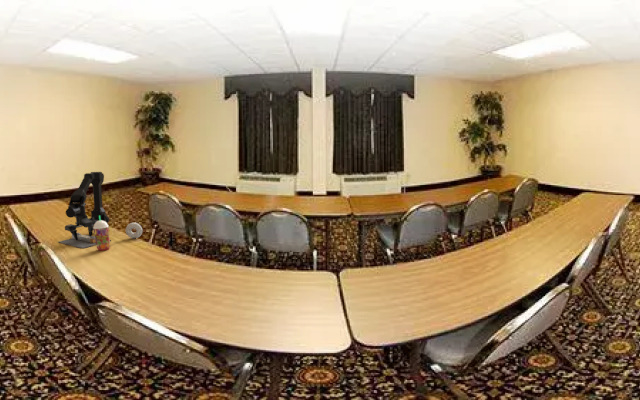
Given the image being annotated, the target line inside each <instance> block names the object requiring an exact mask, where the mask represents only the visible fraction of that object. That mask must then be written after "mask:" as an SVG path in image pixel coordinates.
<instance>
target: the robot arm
mask: <svg viewBox="0 0 640 400" xmlns="http://www.w3.org/2000/svg"><path fill="white" fill-rule="evenodd" d="M104 181H105V174H104V173H103V172H102V171H91V172H90V173H89V172H87V173H84V174H83V179H82V181H81V182H80V184H79V186H78V189H76V190H75V191H73V193H72V194H71V196H70V199H69V203H68V206H67V208H66V211H65V216H67V217H68V218H71V219H72V218H75V224H71V223H70V224H67V225H66V224H65V226H64V230H65V231H67V232H70V234H71V236H72V235H73V236H74V238H75V239H76V240H78V237H77V233H78V228H82V227H84V228H87V230H88V235H89V236H90V237H91V236H93V233H94V230H93V226H94V224H95V222H97V221H99V216H100V219H101V220H103V221H105V222H106V223H107V224H108V223H109V222H110V217H109V216H108V215H107V213H106V210H105V209H104V207H103V195H102V194H103V193H102V185H103V183H104ZM91 185H92V192H93V194H92V195H93V210H91V212H90V213H91V216H90V218H89V217H88V214H87V212H86V207H85V206H87V203H86V200H87V196H88V195H87V192H88V190H89V188H90V186H91Z"/></svg>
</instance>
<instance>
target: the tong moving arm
mask: <svg viewBox="0 0 640 400" xmlns="http://www.w3.org/2000/svg"><path fill="white" fill-rule="evenodd" d="M77 237H78V240H82V241H87V242H90V243H96V242H95V239H94V238H89V237H85V236H80V235H77Z"/></svg>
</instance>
